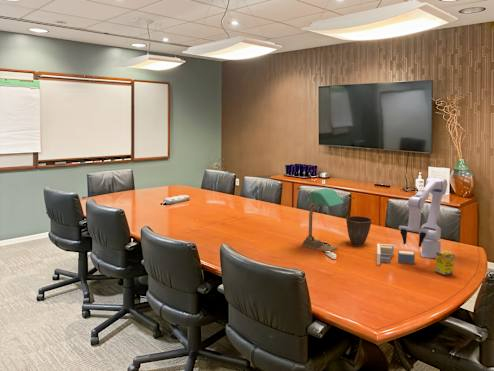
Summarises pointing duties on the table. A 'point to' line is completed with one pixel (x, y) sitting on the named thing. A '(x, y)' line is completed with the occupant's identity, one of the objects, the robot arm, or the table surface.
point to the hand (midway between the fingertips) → (412, 245)
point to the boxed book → (406, 257)
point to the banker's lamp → (316, 197)
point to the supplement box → (444, 262)
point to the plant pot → (358, 229)
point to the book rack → (384, 253)
